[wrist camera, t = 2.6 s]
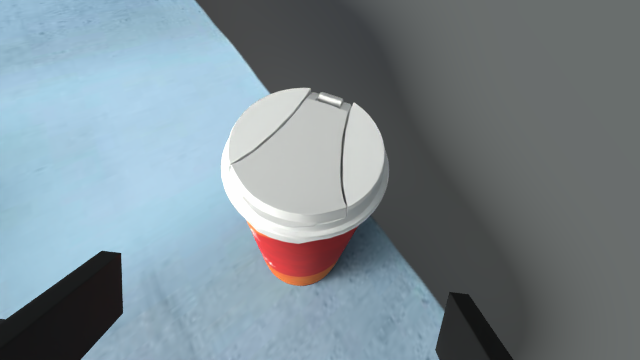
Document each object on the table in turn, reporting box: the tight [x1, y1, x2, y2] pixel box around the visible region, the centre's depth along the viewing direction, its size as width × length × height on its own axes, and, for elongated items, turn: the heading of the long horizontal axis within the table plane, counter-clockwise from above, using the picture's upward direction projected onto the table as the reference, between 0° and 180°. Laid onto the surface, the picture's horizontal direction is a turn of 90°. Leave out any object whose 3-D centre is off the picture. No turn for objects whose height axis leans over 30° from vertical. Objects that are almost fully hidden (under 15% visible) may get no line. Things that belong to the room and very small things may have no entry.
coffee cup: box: [221, 88, 389, 286], centre depth 22 cm, size 8×8×15 cm
